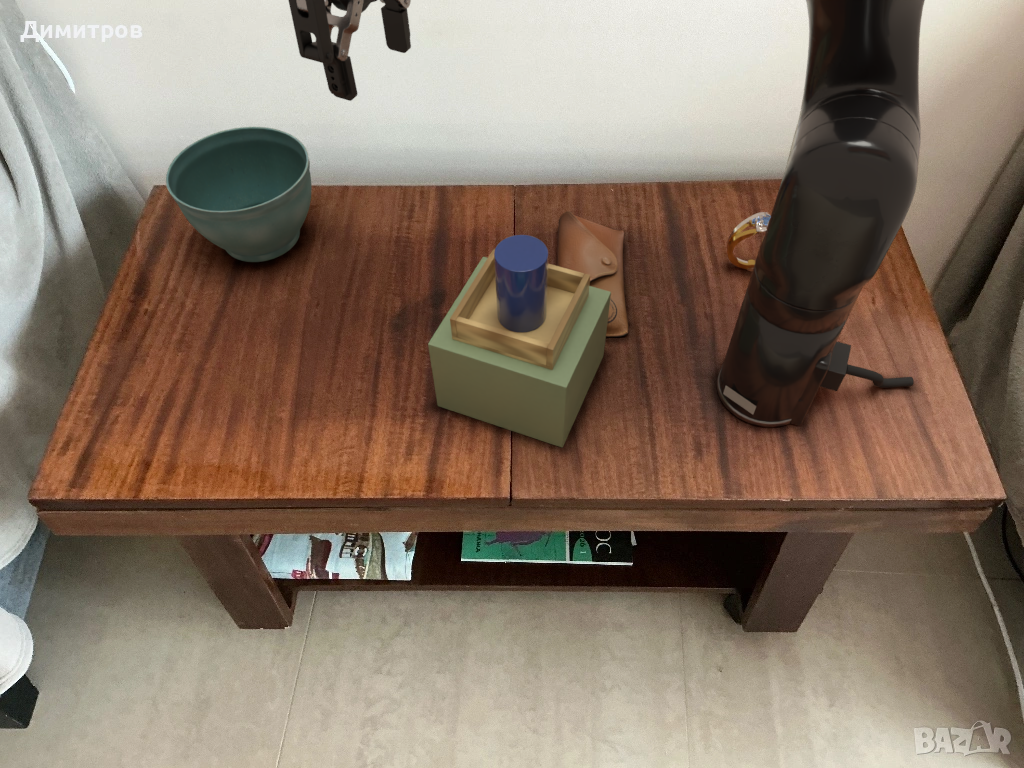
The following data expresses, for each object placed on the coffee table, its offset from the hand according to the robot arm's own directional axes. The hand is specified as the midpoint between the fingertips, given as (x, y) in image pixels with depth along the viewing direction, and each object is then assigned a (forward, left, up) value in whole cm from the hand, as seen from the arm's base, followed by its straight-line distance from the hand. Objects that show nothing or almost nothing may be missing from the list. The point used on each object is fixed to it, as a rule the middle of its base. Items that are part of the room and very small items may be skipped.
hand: (373, 72), depth 68 cm
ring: (-36, -20, -29) cm, 50 cm away
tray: (-17, +6, -19) cm, 26 cm away
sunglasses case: (-19, -11, -29) cm, 36 cm away
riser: (-17, +6, -29) cm, 34 cm away
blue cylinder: (-17, +6, -18) cm, 25 cm away
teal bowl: (+22, -3, -29) cm, 37 cm away
